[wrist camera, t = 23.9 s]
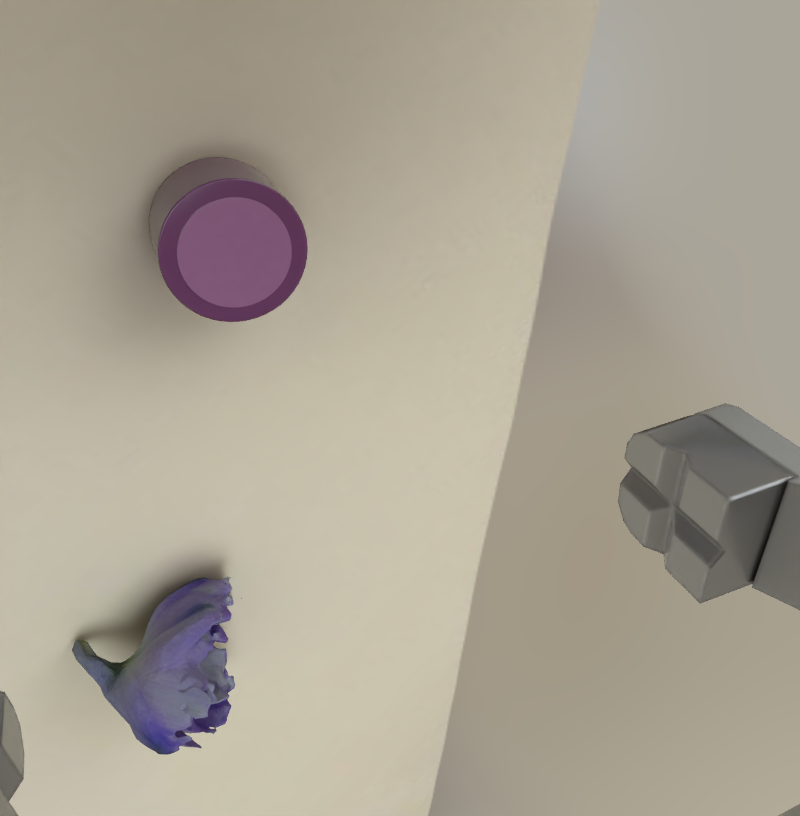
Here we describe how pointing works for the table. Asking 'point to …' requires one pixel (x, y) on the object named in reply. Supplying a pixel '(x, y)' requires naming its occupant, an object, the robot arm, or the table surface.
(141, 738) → the flower
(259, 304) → the dish
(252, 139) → the table surface
